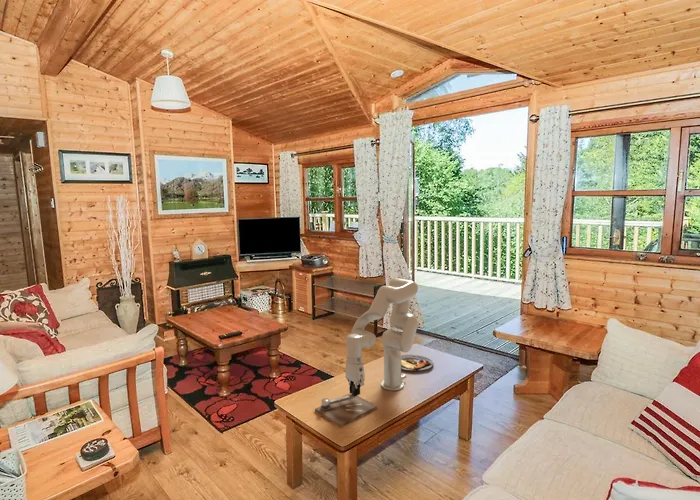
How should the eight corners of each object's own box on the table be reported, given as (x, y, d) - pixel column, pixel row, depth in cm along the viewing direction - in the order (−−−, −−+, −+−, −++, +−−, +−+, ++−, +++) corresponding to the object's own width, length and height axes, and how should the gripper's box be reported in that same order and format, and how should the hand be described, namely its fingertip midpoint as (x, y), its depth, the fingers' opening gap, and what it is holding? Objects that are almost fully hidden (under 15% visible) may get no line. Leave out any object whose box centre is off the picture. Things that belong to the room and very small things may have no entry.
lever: (355, 396, 208) (355, 382, 207) (359, 399, 204) (359, 386, 203) (320, 405, 199) (320, 391, 198) (323, 408, 195) (323, 394, 194)
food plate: (441, 367, 247) (441, 362, 246) (410, 377, 235) (410, 371, 235) (415, 355, 268) (415, 350, 268) (386, 363, 257) (386, 357, 257)
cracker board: (351, 395, 214) (351, 390, 214) (377, 408, 200) (377, 404, 200) (315, 411, 198) (314, 406, 198) (340, 427, 184) (340, 422, 184)
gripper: (371, 361, 199) (371, 397, 201) (349, 352, 211) (349, 385, 214) (359, 366, 194) (360, 402, 196) (338, 356, 206) (338, 390, 209)
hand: (354, 393), depth 205 cm, fingers closed on lever, 3 cm apart
